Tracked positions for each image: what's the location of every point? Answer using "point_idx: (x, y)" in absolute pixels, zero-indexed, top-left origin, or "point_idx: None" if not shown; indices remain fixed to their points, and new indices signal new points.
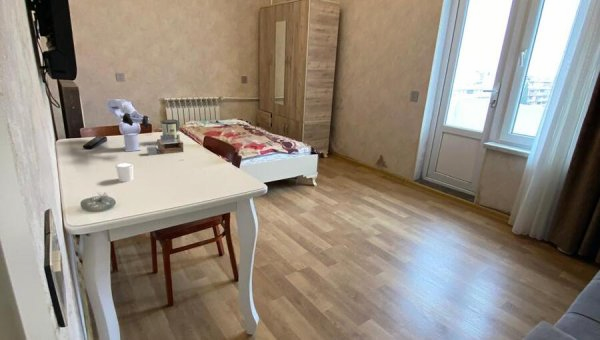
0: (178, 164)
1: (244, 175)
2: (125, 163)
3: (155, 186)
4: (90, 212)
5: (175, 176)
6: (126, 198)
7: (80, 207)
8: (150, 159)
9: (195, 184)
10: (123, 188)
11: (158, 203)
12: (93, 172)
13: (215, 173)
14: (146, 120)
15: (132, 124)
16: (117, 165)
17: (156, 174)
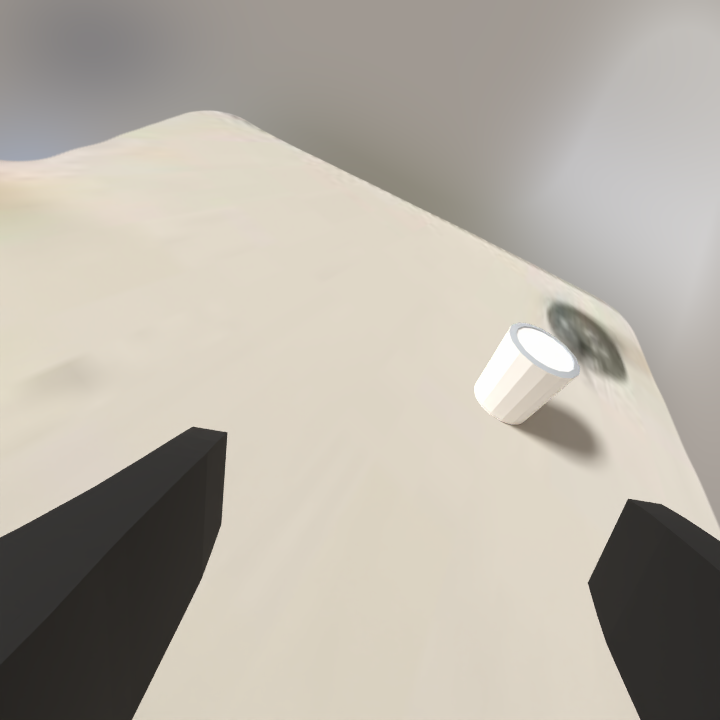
0: (180, 346)
1: (146, 130)
2: (538, 360)
3: (431, 291)
4: (596, 322)
5: (328, 282)
6: (522, 307)
7: (621, 353)
8: (211, 607)
9: (327, 217)
10: None
11: (464, 246)
12: None
13: (191, 192)
14: (46, 551)
15: (605, 551)
16: (572, 367)
17: (374, 347)
